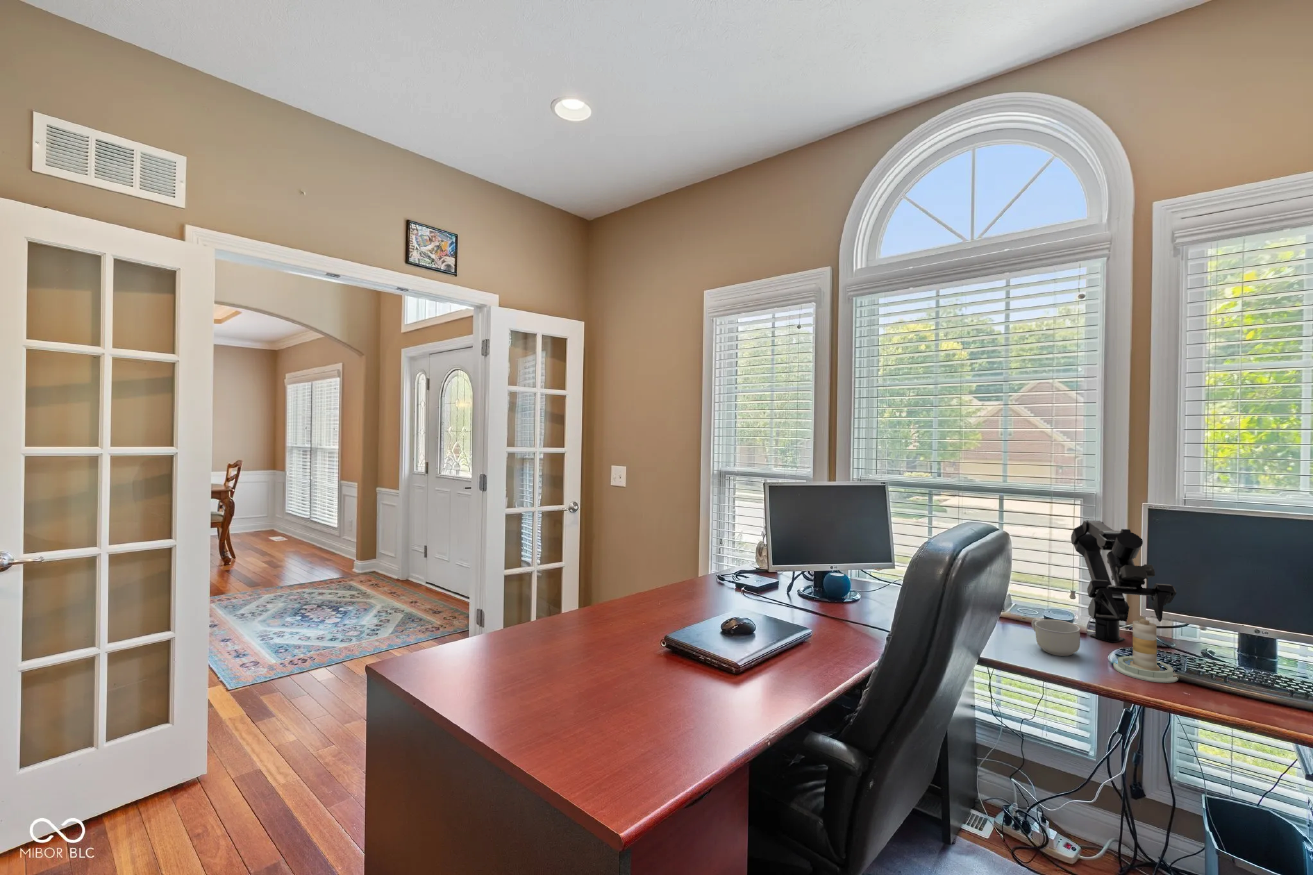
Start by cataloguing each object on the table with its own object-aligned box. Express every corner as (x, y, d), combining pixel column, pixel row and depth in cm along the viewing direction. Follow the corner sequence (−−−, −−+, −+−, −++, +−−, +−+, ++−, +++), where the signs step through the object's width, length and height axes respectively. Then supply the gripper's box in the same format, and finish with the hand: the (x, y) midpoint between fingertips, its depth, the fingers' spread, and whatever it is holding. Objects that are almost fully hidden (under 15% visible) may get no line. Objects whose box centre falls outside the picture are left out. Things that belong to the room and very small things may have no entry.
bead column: (1131, 663, 158) (1131, 615, 158) (1161, 669, 153) (1160, 620, 153) (1128, 669, 153) (1127, 620, 154) (1158, 675, 149) (1157, 625, 149)
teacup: (1089, 659, 163) (1089, 630, 163) (1050, 659, 163) (1050, 630, 163) (1056, 642, 177) (1056, 615, 177) (1020, 642, 177) (1019, 615, 177)
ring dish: (1132, 660, 162) (1132, 652, 162) (1189, 677, 150) (1189, 669, 150) (1102, 667, 157) (1102, 659, 157) (1159, 686, 145) (1159, 677, 145)
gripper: (1090, 550, 165) (1104, 600, 155) (1173, 554, 158) (1193, 607, 148) (1081, 572, 172) (1094, 621, 162) (1160, 577, 165) (1179, 628, 155)
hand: (1139, 619), depth 157 cm, fingers open, 9 cm apart
